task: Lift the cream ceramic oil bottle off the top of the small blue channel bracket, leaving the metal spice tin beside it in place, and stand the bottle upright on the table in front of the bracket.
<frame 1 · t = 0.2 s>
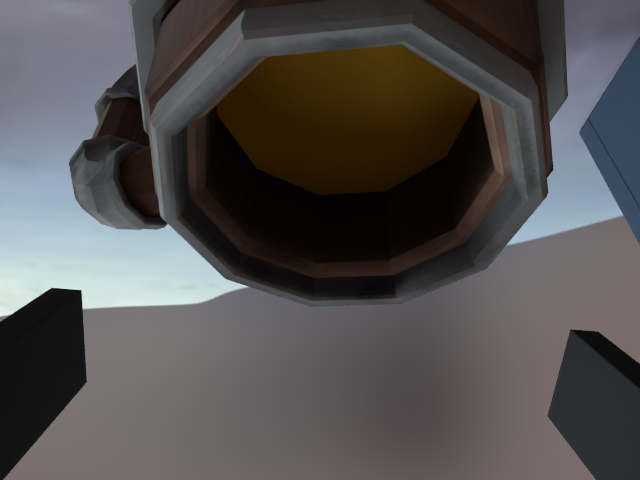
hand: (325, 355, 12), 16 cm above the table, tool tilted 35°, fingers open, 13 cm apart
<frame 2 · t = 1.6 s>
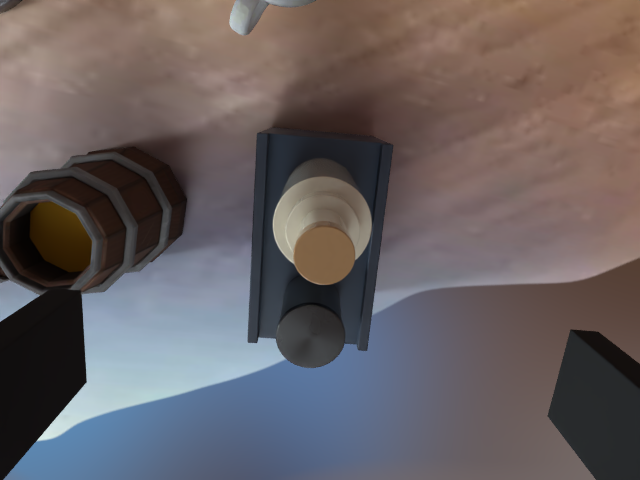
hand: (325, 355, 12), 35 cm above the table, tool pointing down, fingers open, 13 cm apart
mug: (112, 212, 46), on the table
spice tin: (311, 299, 37), point 11 cm above the table, touching blue channel bracket
blue channel bracket: (315, 215, 47), on the table
oil bottle: (320, 194, 35), point 11 cm above the table, touching blue channel bracket
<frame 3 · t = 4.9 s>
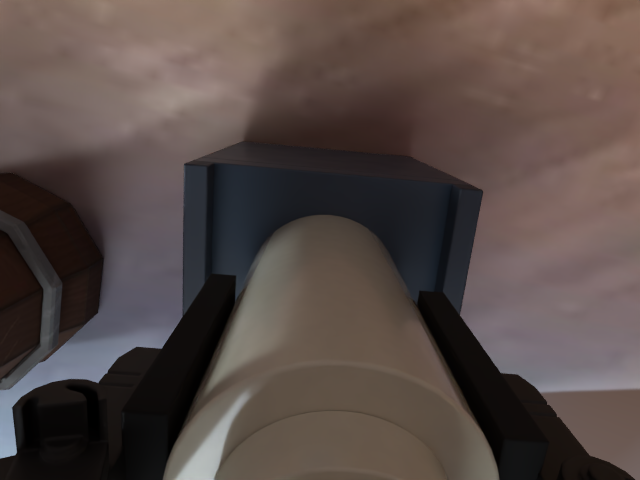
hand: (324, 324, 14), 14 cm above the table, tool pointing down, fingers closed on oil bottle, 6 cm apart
blue channel bracket: (314, 283, 29), on the table
oil bottle: (322, 286, 17), point 11 cm above the table, touching gripper, blue channel bracket
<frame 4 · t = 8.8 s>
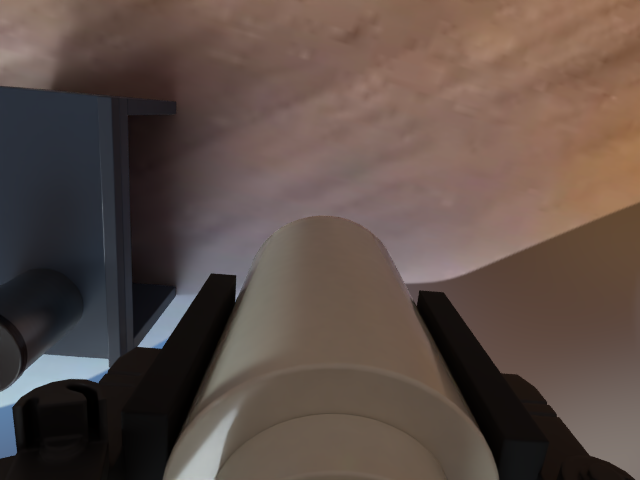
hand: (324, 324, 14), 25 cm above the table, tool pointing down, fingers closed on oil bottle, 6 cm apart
spice tin: (47, 301, 29), point 11 cm above the table, touching blue channel bracket
blue channel bracket: (117, 199, 38), on the table
oil bottle: (322, 287, 17), point 22 cm above the table, touching gripper
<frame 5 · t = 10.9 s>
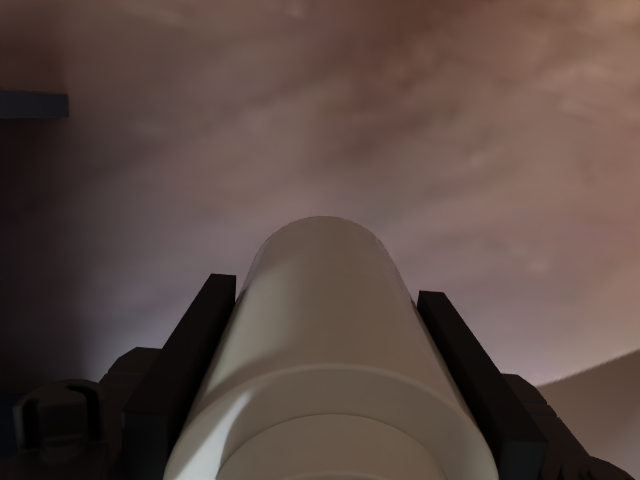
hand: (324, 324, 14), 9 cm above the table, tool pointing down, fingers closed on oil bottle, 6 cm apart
oil bottle: (322, 287, 17), point 6 cm above the table, touching gripper
when the fingers open (3 cm above the table, at t = 12.7 s): oil bottle stays where it is, on the table.
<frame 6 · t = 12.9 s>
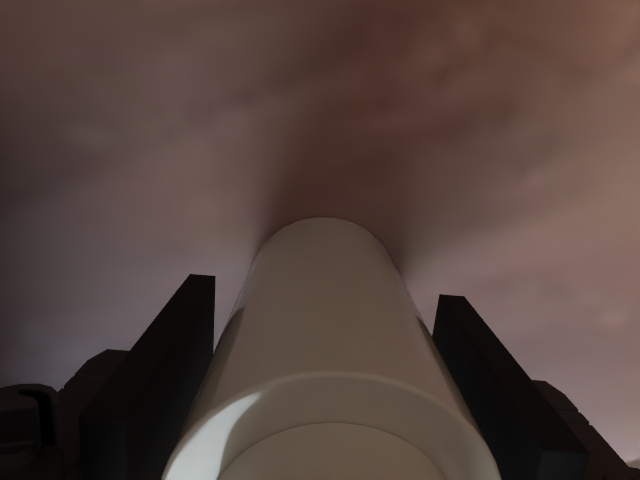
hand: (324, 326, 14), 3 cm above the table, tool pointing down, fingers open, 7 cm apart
oil bottle: (322, 289, 17), on the table
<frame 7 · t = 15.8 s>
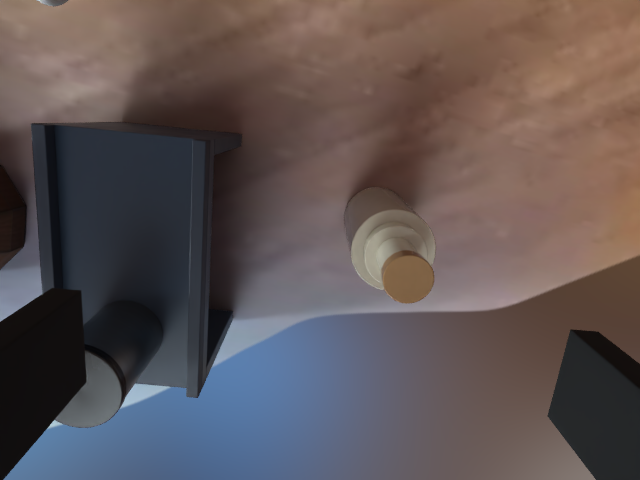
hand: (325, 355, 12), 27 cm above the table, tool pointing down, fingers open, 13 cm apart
spice tin: (128, 332, 30), point 11 cm above the table, touching blue channel bracket
blue channel bracket: (180, 227, 39), on the table
oil bottle: (375, 218, 39), on the table
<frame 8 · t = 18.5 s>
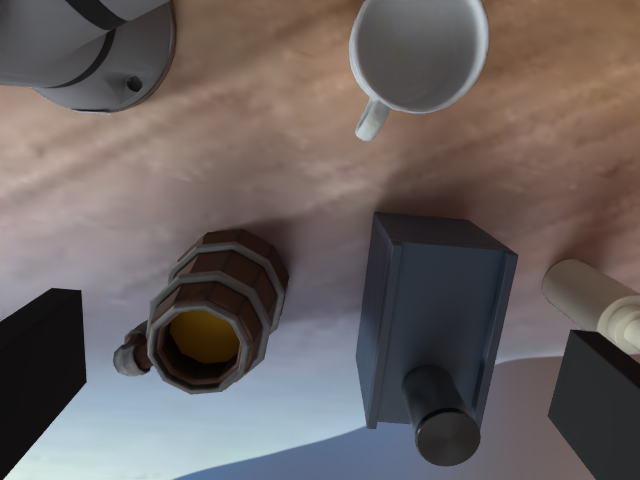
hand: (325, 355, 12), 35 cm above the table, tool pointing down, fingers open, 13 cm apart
mug: (216, 288, 49), on the table
spice tin: (427, 387, 40), point 11 cm above the table, touching blue channel bracket
blue channel bracket: (409, 291, 49), on the table
oil bottle: (567, 283, 49), on the table
teacup: (391, 68, 43), on the table
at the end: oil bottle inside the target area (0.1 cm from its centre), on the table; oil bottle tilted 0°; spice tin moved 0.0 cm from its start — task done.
